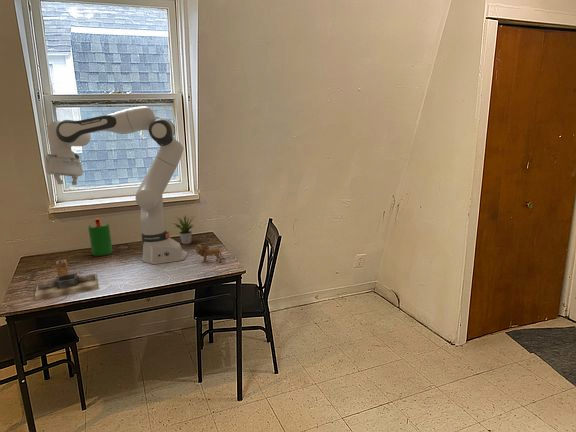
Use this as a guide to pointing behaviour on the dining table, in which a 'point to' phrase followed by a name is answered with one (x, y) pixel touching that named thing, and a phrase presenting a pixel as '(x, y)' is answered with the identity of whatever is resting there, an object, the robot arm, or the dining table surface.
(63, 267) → the block
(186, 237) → the house plant
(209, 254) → the lion figurine
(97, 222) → the motor
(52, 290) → the base
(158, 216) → the robot arm
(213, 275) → the dining table surface
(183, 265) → the dining table surface
